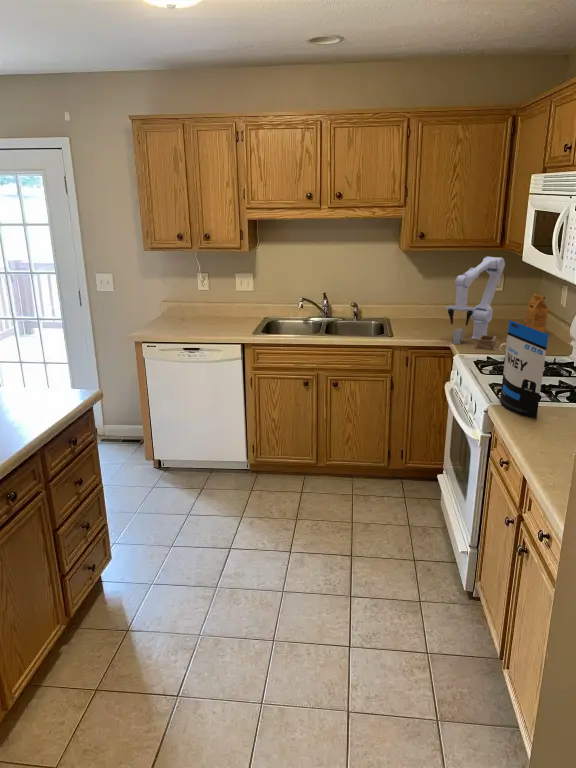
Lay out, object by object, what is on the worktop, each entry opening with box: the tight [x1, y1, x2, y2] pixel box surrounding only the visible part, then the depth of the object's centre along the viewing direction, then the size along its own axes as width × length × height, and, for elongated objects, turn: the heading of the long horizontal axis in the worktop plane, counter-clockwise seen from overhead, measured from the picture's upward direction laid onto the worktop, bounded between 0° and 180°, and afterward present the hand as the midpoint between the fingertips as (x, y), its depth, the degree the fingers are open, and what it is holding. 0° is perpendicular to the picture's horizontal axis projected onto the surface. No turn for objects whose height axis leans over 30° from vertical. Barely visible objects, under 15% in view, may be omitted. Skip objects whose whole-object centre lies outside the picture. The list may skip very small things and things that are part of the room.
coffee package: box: [523, 293, 549, 333], centre depth 327 cm, size 10×12×22 cm
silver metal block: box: [452, 327, 464, 345], centre depth 307 cm, size 8×4×7 cm, turn 154°
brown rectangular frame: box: [474, 334, 499, 351], centre depth 299 cm, size 13×10×4 cm
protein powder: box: [499, 319, 549, 420], centre depth 206 cm, size 10×24×30 cm, turn 10°
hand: (459, 324), depth 305 cm, fingers open, 7 cm apart
